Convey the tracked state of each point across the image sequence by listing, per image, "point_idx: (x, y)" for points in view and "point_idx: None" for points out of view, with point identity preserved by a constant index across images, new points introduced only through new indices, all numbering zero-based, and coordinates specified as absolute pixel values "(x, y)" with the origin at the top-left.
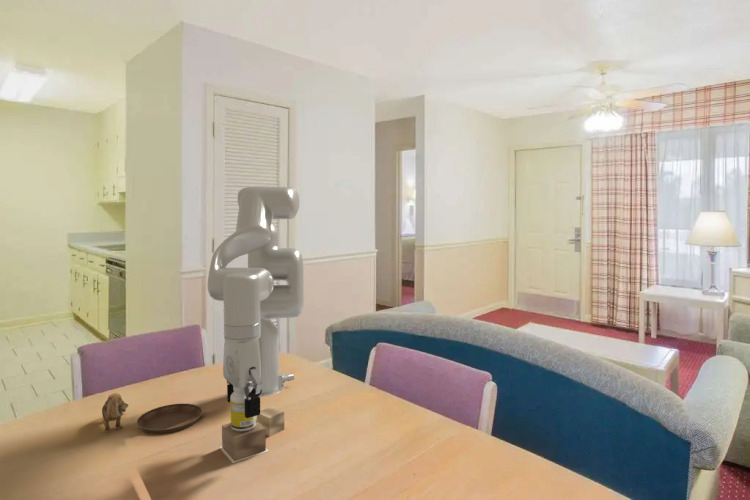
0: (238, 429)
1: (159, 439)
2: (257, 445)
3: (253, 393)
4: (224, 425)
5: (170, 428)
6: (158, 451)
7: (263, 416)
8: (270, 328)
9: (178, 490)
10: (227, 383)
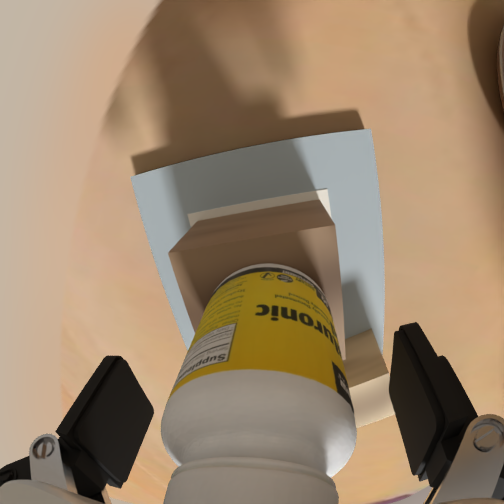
0: (216, 289)
1: (483, 45)
2: None
3: (1, 468)
4: (327, 236)
5: (500, 67)
6: (416, 17)
7: (349, 384)
8: None
9: (145, 50)
10: (482, 416)
